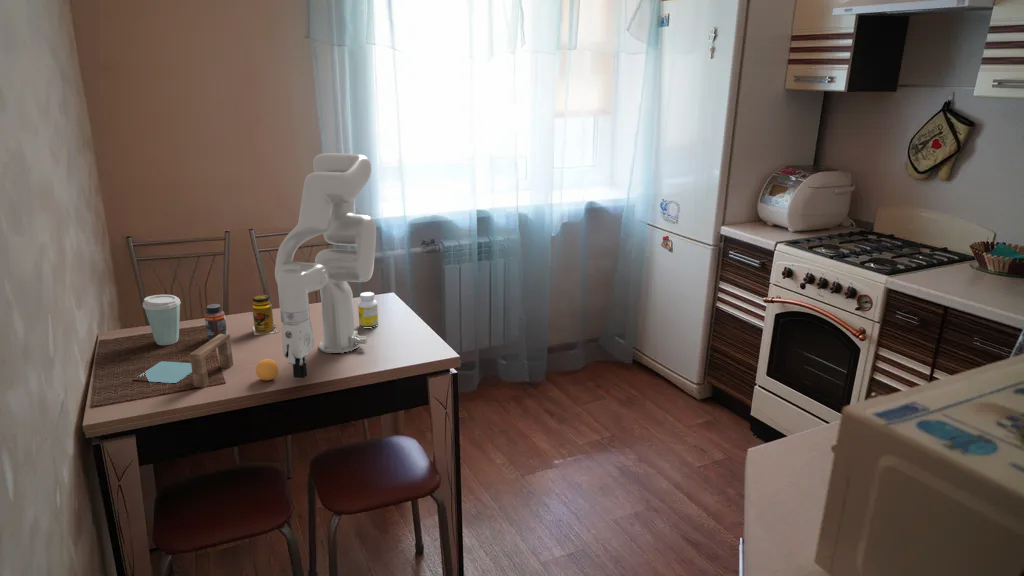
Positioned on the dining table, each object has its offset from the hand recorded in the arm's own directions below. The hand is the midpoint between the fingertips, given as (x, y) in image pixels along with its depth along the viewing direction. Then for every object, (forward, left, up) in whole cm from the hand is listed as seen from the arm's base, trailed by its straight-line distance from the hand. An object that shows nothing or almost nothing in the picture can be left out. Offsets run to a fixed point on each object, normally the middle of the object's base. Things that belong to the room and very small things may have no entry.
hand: (300, 376), depth 185 cm
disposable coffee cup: (+53, -20, -1) cm, 57 cm away
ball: (+9, +1, +2) cm, 9 cm away
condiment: (+28, -35, -2) cm, 45 cm away
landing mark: (+39, +1, -1) cm, 39 cm away
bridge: (+25, +1, -1) cm, 25 cm away
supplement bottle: (+39, -25, -2) cm, 47 cm away
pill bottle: (-5, -44, -2) cm, 45 cm away
